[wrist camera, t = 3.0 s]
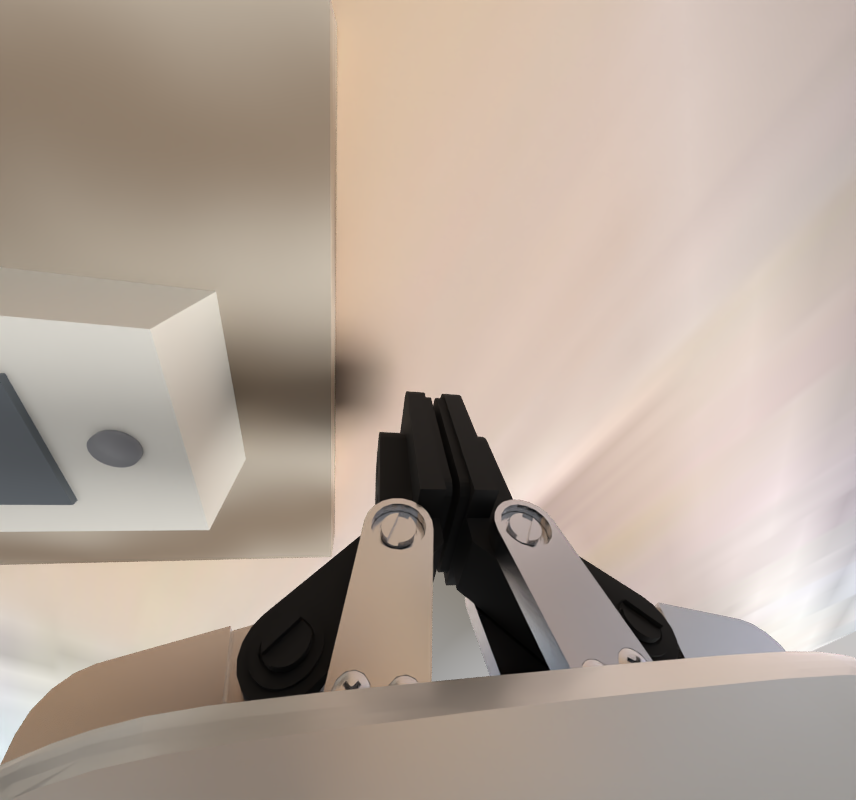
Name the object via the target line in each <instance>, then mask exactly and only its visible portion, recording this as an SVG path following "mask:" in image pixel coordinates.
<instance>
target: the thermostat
mask: <svg viewBox="0 0 856 800" xmlns="http://www.w3.org/2000/svg"><path fill="white" fill-rule="evenodd" d="M245 460H246V457H245V452H244V446H243V440H242V435H241V429H240V424H239V418H238V412H237V407H236V401H235V395H234V390H233V384H232V379H231V373H230V367H229V362H228V356H227V350H226V345H225V339H224V334H223V328H222V322H221V317H220V311H219V305H218V300H217V294H216V291H208V290H199V289H190V288H181V287H172V286H163V285H155V284H146V283H137V282H128V281H119V280H110V279H101V278H92V277H83V276H75V275H66V274H57V273H48V272H39V271H30V270H21V269H12V268H4V267H0V532H46V531H162V530H210V528H211V526H212V524H213V522H214V520H215V518H216V516H217V514H218V512H219V510H220V508H221V506H222V505H223V503H224V501H225V499H226V497H227V495H228V493H229V491H230V489H231V487H232V485H233V483H234V481H235V479H236V477H237V475H238V473H239V471H240V470H241V468H242V466H243V464H244V462H245Z"/></svg>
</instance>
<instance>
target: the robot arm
mask: <svg viewBox="0 0 856 800" xmlns="http://www.w3.org/2000/svg"><path fill="white" fill-rule="evenodd" d="M436 570H437V571H438V572H444V577H445V583H446V585H456V588H457V590H458V591H459V592H460V593H462V594H463V595H464V596H465V604H466V608H467V612H468V615H469V618H470V620H471V623H472V626H473V629H474V632H475V634H476V637H477V640H478V643H479V646H480V649H481V652H482V655H483V658H484V660H485V663H486V666H487V669H488V672H489V675H490V676H486V677H476V678H465V679H456V680H445V681H435V682H431V674H432V600H433V599H432V598H433V597H432V596H433V581H434V577H435V574H436ZM0 800H856V658H855V657H850V656H846V655H840V654H832V653H824V652H823V653H822V652H786V651H785V650H784V649H783V648H782V646H781V645H780V644H779V643H778V642H776V641H775V640H774V639H773V638H772V637H771V636H769V635H768V634H767V633H766V632H764V631H763V630H761V629H759V628H758V627H756V626H755V625H753V624H751V623H748V622H746V621H743V620H740V619H736V618H731V617H726V616H721V615H716V614H711V613H706V612H702V611H697V610H692V609H687V608H682V607H677V606H672V605H667V604H662V603H657V604H656V606H654V605H653V604H651V603H650V602H649V601H647V600H646V599H645V598H643V597H642V596H641V595H639V594H638V593H636V592H634V591H633V590H631V589H630V588H628V587H627V586H625V585H623V584H622V583H620V582H619V581H617V580H616V579H614V578H612V577H611V576H609V575H608V574H606V573H605V572H603V571H601V570H600V569H598V568H597V567H595V566H594V565H592V564H590V563H589V562H587V561H586V560H584V559H583V558H581V557H579V556H578V554H577V553H576V552H575V550H574V549H573V547H572V546H571V545H570V543H569V542H568V540H567V539H566V537H565V536H564V535H563V533H562V532H561V530H560V529H559V528H558V526H557V525H556V523H555V522H554V521H553V519H552V518H551V517H550V516H549V515H548V514H547V513H546V512H545V511H544V510H542V509H541V508H540V507H538V506H536V505H534V504H532V503H530V502H527V501H523V500H513V499H512V496H511V494H510V492H509V490H508V487H507V485H506V483H505V481H504V478H503V476H502V474H501V472H500V469H499V467H498V465H497V463H496V460H495V458H494V456H493V454H492V451H491V449H490V447H489V445H488V442H487V440H486V439H485V438H484V437H477V434H476V432H475V429H474V427H473V425H472V422H471V420H470V417H469V415H468V412H467V410H466V408H465V405H464V403H463V400H462V398H461V396H460V395H450V394H442V395H441V398H435V400H434V405H433V404H432V400H431V398H427V397H425V393H421V392H407V391H406V394H405V401H404V409H403V416H402V424H401V432H400V433H387V432H380V433H379V440H378V451H377V464H376V494H375V505H374V506H373V508H372V509H371V510H370V511H369V512H368V513H367V516H366V518H365V520H364V524H363V528H362V532H361V536H359V537H358V538H357V539H356V540H354V541H353V542H352V543H351V544H349V545H348V546H347V547H346V548H345V549H343V550H342V551H341V552H340V553H338V554H337V555H336V556H335V557H334V558H332V559H331V560H330V561H329V562H327V563H326V564H325V565H324V566H323V567H321V568H320V569H319V570H318V571H316V572H315V573H314V574H313V575H312V576H310V577H309V578H308V579H307V580H305V581H304V582H303V583H302V584H300V585H299V586H298V587H297V588H296V589H294V590H293V591H292V592H291V593H289V594H288V595H287V596H286V597H285V598H283V599H282V600H281V601H280V602H278V603H277V604H276V605H275V606H274V607H272V608H271V609H270V610H269V611H267V612H266V613H265V614H264V615H263V616H262V617H261V618H260V619H259V620H258V621H257V622H256V623H255V624H254V625H251V626H248V627H244V628H241V629H237V630H234V631H232V629H231V626H229V627H225V628H222V629H218V630H215V631H211V632H208V633H204V634H200V635H197V636H193V637H190V638H186V639H183V640H179V641H175V642H172V643H168V644H165V645H161V646H158V647H154V648H151V649H147V650H143V651H140V652H136V653H133V654H129V655H126V656H122V657H118V658H115V659H111V660H108V661H104V662H101V663H97V664H95V665H92V666H90V667H88V668H85V669H83V670H81V671H78V672H76V673H74V674H73V675H71V676H70V677H68V678H67V679H65V680H64V681H63V682H61V683H60V684H58V685H57V686H55V687H54V688H52V689H51V690H50V691H49V692H48V693H47V694H46V695H45V696H44V697H43V698H42V699H41V700H40V701H39V702H38V703H37V704H36V705H35V706H34V707H33V708H32V710H31V711H30V712H29V714H28V715H27V717H26V718H25V720H24V721H23V723H22V725H21V726H20V728H19V729H18V731H17V732H16V734H15V736H14V738H13V740H12V742H11V744H10V746H9V748H8V750H7V752H6V754H5V756H4V759H3V761H2V763H1V765H0Z"/></svg>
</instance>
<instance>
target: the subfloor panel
mask: <svg viewBox="0 0 856 800" xmlns="http://www.w3.org/2000/svg"><path fill="white" fill-rule="evenodd" d="M336 110H337V22H336V18H335V14H334V10H333V6H332V2H331V0H0V267H4V268H12V269H21V270H30V271H39V272H48V273H57V274H66V275H75V276H83V277H92V278H101V279H110V280H119V281H128V282H137V283H146V284H155V285H163V286H172V287H181V288H190V289H199V290H208V291H216V294H217V300H218V305H219V311H220V317H221V322H222V328H223V334H224V339H225V345H226V350H227V356H228V362H229V367H230V373H231V379H232V384H233V390H234V395H235V401H236V407H237V412H238V418H239V424H240V429H241V435H242V440H243V446H244V452H245V457H246V460H245V462H244V464H243V466H242V468H241V470H240V471H239V473H238V475H237V477H236V479H235V481H234V483H233V485H232V487H231V489H230V491H229V493H228V495H227V497H226V499H225V501H224V503H223V505H222V506H221V508H220V510H219V512H218V514H217V516H216V518H215V520H214V522H213V524H212V526H211V528H210V530H162V531H46V532H0V565H11V564H54V563H96V562H138V561H180V560H223V559H265V558H307V557H331V556H332V549H333V541H334V515H335V313H336Z"/></svg>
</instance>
